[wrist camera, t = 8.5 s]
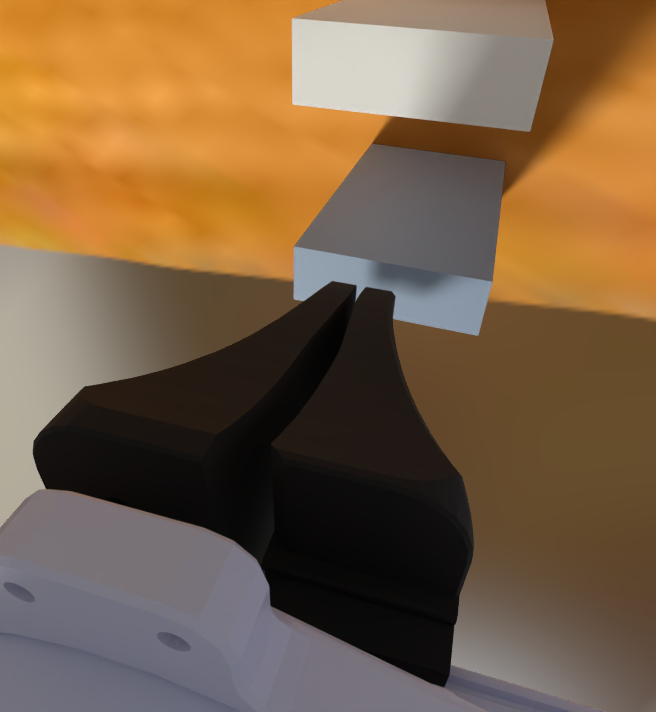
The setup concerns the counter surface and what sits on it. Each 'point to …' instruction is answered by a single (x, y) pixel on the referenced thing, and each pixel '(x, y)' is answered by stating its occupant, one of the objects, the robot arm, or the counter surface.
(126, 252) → the counter surface
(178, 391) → the robot arm
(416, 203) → the domino
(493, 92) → the domino
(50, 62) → the counter surface
